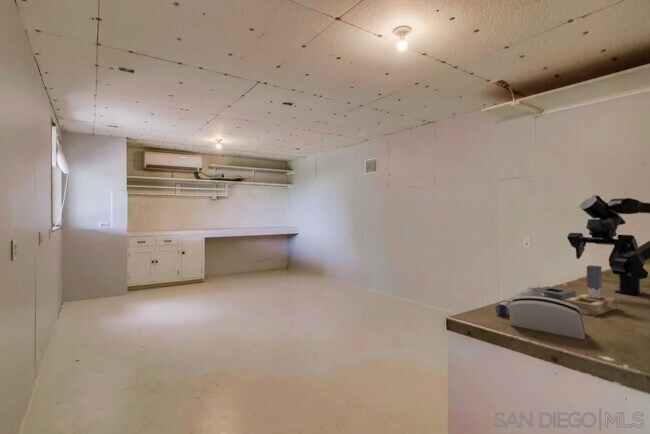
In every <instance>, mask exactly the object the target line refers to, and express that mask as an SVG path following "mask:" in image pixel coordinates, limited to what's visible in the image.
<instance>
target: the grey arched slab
mask: <svg viewBox="0 0 650 434" xmlns="http://www.w3.org/2000/svg"><path fill="white" fill-rule="evenodd" d="M508 322H509V323H508V325H509V326H513V327H517V328H518V327H519V328H524V329H529V330H533V331H539V332H544V333H550V334H555V335H560V336H565V337H569V338H575V339H580V340H585V339H586V334H587V333H586V328H585V325H584V320H583V316H582V313H581V312H580V309H579V307H577V306H575V305H572V304H570V303H567V302H564V301H560V300H557V299H552V298H547V297H539V296H523V297H515V298H514V299H513V300H512V301H511V304H510V314H509V321H508Z"/></svg>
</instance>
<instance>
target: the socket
mask: <svg viewBox="0 0 650 434" xmlns="http://www.w3.org/2000/svg"><path fill="white" fill-rule="evenodd" d="M540 289H541V293H543V294H544V297H547V298H552V299H557V300H560V301H564V300H565V299H569V298H572V297H576V296H577V294H576V291H575V290H572V289H571V290H570V289H566V288H560V287H556V286H555V287H553V286H542V287H540Z"/></svg>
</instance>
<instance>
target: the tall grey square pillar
mask: <svg viewBox="0 0 650 434" xmlns="http://www.w3.org/2000/svg"><path fill="white" fill-rule="evenodd" d="M602 284H603V283H602V266H599V265H589V264H588V265H587V266H586V287H587V290H588V291H587V292H588V293H587V294H588V298H589V299H595V300H601V296H602V295H601V294H602V292H601V288H602V287H603V286H602Z"/></svg>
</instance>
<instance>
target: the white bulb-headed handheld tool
mask: <svg viewBox="0 0 650 434" xmlns="http://www.w3.org/2000/svg"><path fill="white" fill-rule="evenodd" d="M526 288H527V289H525V290H523V291H521V292H519V293H517V294H515V295H513V296H511V297H508V298H507V299H503V300H501V301H500V302H499V304H497V305H496V306H495V308H494V309H495V313H496V314H497V315H498V316H500V317H508V316H510V304H511V301H512V300H513V299H514V298H515V297H523V296H539V297H544V294H543V293H541V289H540V288H541V286H540V285H538V284H529V285H528V286H527V287H526Z"/></svg>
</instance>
